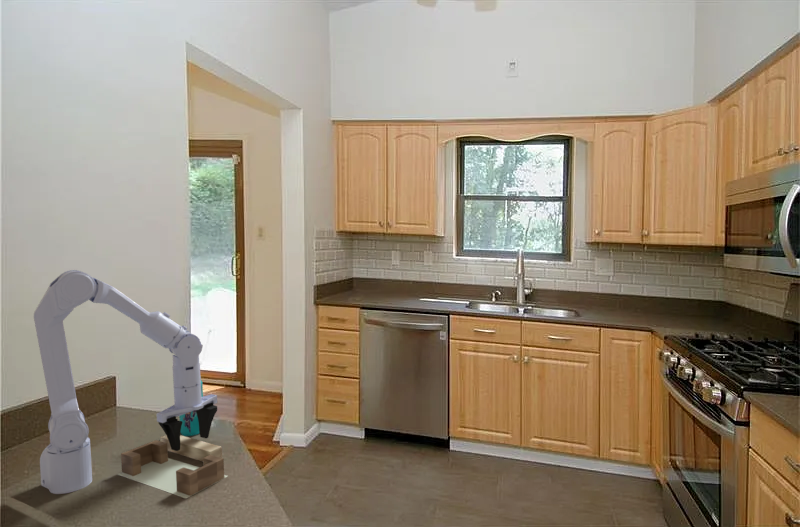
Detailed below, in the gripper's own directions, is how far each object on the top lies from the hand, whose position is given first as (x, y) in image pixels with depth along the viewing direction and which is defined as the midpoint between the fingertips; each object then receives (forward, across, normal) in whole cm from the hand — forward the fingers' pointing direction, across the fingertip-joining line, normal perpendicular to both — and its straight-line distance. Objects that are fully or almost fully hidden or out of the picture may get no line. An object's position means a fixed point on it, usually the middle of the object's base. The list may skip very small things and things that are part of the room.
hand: (190, 443), depth 114 cm
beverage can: (+3, +9, +11) cm, 15 cm away
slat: (+4, 0, 0) cm, 4 cm away
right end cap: (+2, -9, -15) cm, 18 cm away
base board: (+3, -9, -6) cm, 11 cm away
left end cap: (+2, -9, +3) cm, 10 cm away
